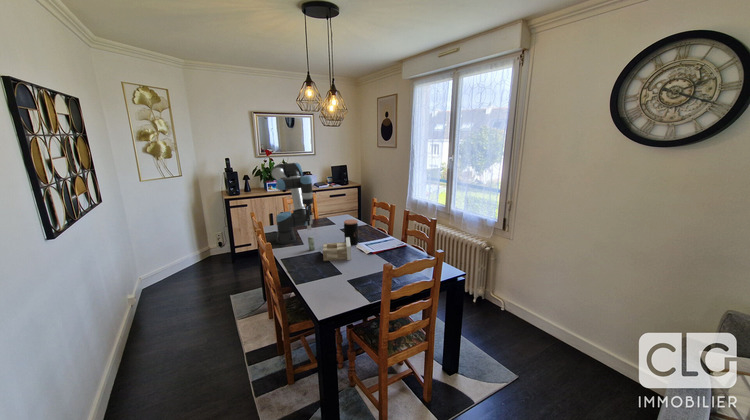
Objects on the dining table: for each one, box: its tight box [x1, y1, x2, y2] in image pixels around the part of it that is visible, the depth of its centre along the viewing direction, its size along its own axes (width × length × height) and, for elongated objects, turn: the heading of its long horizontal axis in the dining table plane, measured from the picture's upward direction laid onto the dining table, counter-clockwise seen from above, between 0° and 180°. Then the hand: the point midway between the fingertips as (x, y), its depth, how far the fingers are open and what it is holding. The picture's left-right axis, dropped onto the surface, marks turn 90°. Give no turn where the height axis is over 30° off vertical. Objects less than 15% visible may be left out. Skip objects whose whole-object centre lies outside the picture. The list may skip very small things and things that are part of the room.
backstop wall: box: [346, 237, 352, 261], centre depth 204 cm, size 18×3×10 cm, turn 8°
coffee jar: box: [343, 219, 360, 246], centre depth 225 cm, size 11×11×18 cm
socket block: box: [322, 241, 347, 262], centre depth 204 cm, size 14×16×7 cm
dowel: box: [307, 236, 316, 252], centre depth 214 cm, size 4×4×10 cm
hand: (310, 226), depth 211 cm, fingers open, 13 cm apart
